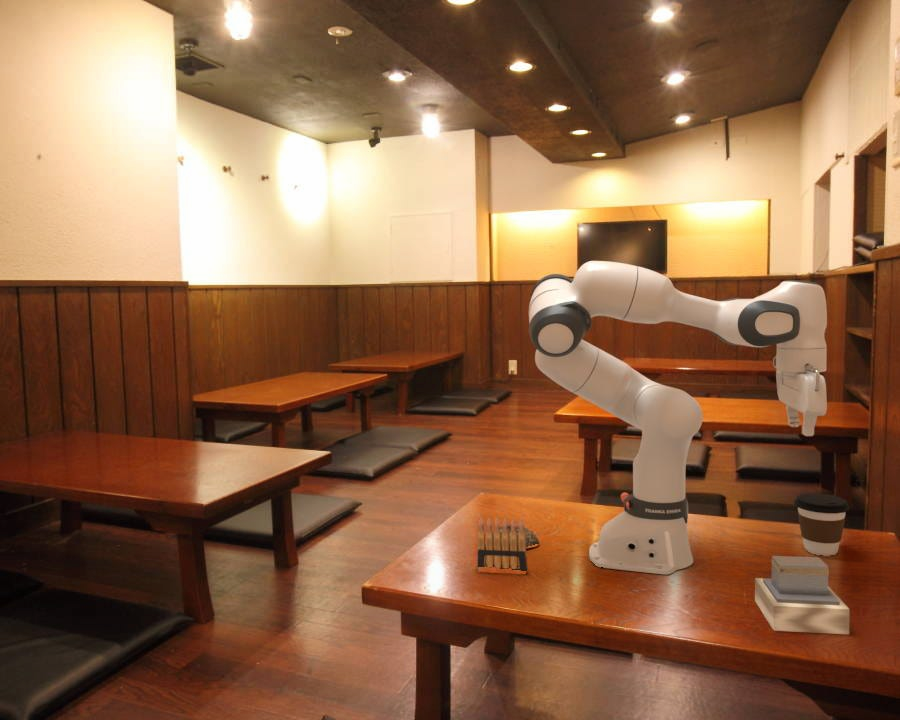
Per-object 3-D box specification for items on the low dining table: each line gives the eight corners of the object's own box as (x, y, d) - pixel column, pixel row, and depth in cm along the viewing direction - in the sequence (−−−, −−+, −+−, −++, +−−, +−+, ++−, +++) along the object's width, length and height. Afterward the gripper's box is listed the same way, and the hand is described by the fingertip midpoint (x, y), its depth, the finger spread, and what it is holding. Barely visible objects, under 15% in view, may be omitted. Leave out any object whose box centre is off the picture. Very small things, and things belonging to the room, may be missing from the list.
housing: (828, 595, 118) (828, 566, 118) (778, 593, 120) (779, 565, 119) (818, 585, 123) (819, 557, 122) (771, 583, 124) (771, 555, 124)
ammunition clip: (477, 572, 146) (475, 518, 145) (478, 569, 148) (477, 515, 147) (526, 575, 144) (525, 520, 143) (527, 571, 146) (526, 517, 145)
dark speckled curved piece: (545, 549, 160) (545, 528, 159) (498, 557, 155) (498, 536, 155) (519, 533, 171) (519, 513, 171) (475, 540, 167) (474, 521, 166)
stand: (773, 630, 117) (773, 602, 116) (754, 600, 128) (755, 575, 128) (849, 634, 115) (849, 605, 114) (823, 603, 126) (823, 577, 126)
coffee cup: (860, 558, 147) (861, 504, 146) (812, 561, 146) (813, 507, 145) (828, 541, 158) (829, 491, 157) (783, 544, 157) (784, 493, 156)
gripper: (836, 367, 124) (835, 441, 125) (803, 357, 143) (802, 421, 145) (799, 367, 125) (798, 441, 126) (771, 358, 145) (770, 421, 146)
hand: (800, 430), depth 136 cm, fingers open, 8 cm apart
